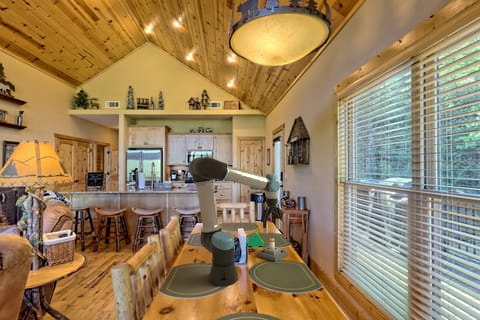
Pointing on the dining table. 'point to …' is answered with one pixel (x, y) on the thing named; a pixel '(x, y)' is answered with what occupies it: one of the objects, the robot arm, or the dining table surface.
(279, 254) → the housing
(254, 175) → the robot arm
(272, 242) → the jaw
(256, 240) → the green triangular block
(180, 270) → the dining table surface
